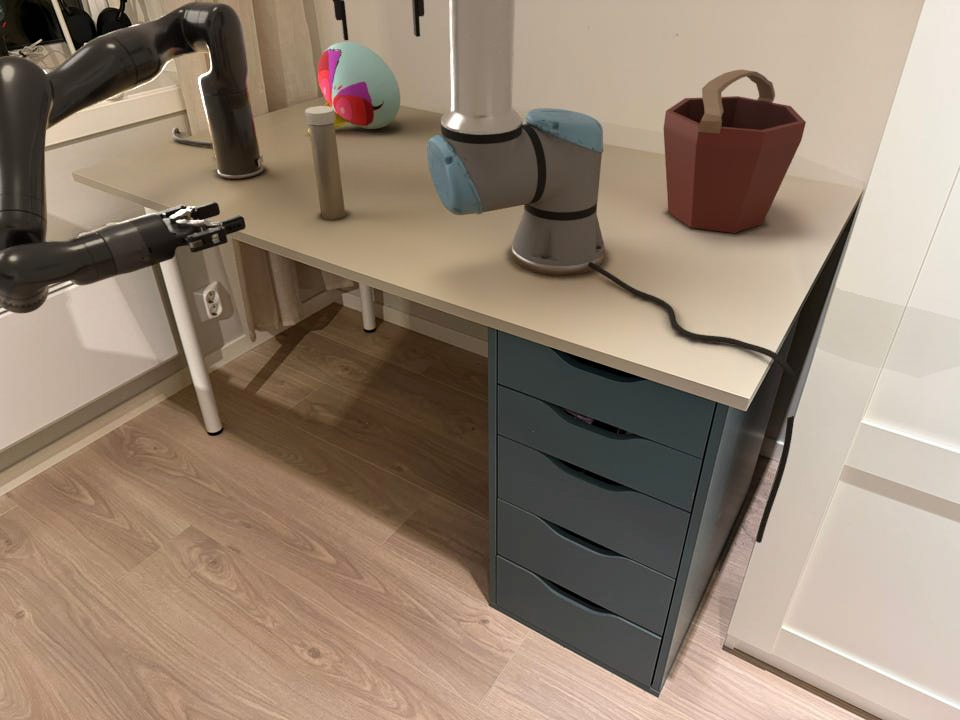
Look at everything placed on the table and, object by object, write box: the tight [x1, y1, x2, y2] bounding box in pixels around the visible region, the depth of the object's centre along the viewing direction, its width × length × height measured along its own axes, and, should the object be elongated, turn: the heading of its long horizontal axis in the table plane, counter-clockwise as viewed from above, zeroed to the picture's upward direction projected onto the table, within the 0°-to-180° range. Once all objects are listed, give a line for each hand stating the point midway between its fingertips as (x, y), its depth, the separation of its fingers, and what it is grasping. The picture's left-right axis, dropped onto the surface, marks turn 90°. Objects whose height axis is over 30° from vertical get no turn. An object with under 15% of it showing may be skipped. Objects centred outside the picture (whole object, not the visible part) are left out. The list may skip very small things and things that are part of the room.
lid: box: [304, 105, 336, 125], centre depth 123 cm, size 5×5×2 cm
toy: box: [307, 41, 401, 134], centre depth 176 cm, size 24×24×20 cm
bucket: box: [663, 69, 807, 234], centre depth 125 cm, size 24×22×25 cm
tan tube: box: [307, 122, 346, 221], centre depth 128 cm, size 4×4×19 cm
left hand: (230, 214), depth 118 cm, fingers open, 8 cm apart
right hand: (381, 37), depth 134 cm, fingers open, 13 cm apart
